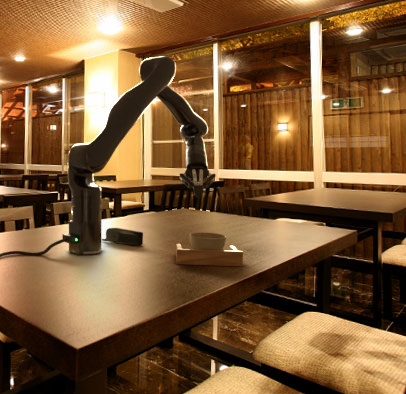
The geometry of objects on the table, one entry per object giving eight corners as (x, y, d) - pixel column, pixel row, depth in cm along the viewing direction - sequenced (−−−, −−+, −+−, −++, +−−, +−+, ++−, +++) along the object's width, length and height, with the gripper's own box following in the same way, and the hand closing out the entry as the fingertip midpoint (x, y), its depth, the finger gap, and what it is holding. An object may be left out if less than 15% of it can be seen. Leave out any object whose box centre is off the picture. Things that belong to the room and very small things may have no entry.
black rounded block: (144, 230, 132) (105, 225, 140) (140, 232, 129) (100, 227, 137) (143, 245, 132) (104, 239, 140) (139, 247, 130) (100, 241, 138)
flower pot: (227, 265, 106) (228, 239, 106) (189, 263, 108) (189, 237, 108) (223, 256, 116) (224, 232, 115) (188, 255, 118) (189, 231, 117)
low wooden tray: (242, 266, 105) (243, 251, 105) (176, 264, 108) (176, 249, 107) (234, 257, 115) (235, 243, 115) (174, 255, 118) (174, 242, 117)
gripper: (178, 152, 143) (179, 188, 132) (215, 152, 141) (220, 189, 130) (176, 167, 149) (178, 202, 138) (213, 167, 147) (217, 203, 136)
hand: (198, 196), depth 134 cm, fingers closed
